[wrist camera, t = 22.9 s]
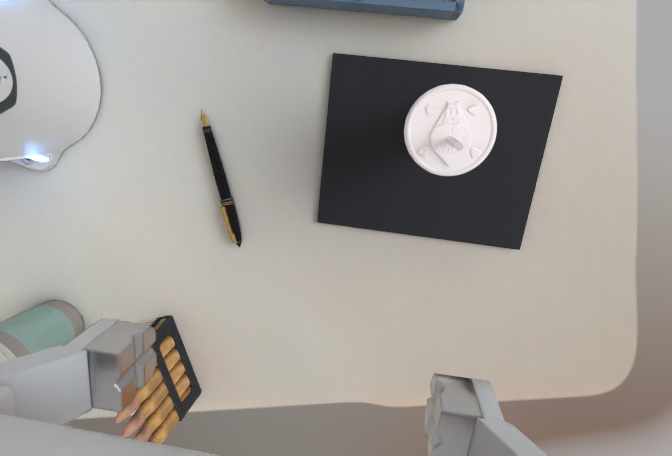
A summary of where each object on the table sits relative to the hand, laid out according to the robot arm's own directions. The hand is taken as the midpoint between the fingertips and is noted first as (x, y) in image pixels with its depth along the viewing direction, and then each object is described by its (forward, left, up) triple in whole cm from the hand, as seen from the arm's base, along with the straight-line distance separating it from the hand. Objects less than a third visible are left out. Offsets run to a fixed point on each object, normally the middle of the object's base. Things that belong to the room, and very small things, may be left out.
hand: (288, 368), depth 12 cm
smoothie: (+6, +6, -31) cm, 32 cm away
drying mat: (+6, +3, -31) cm, 32 cm away
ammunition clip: (-19, -24, -31) cm, 44 cm away
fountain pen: (-14, -2, -31) cm, 34 cm away
